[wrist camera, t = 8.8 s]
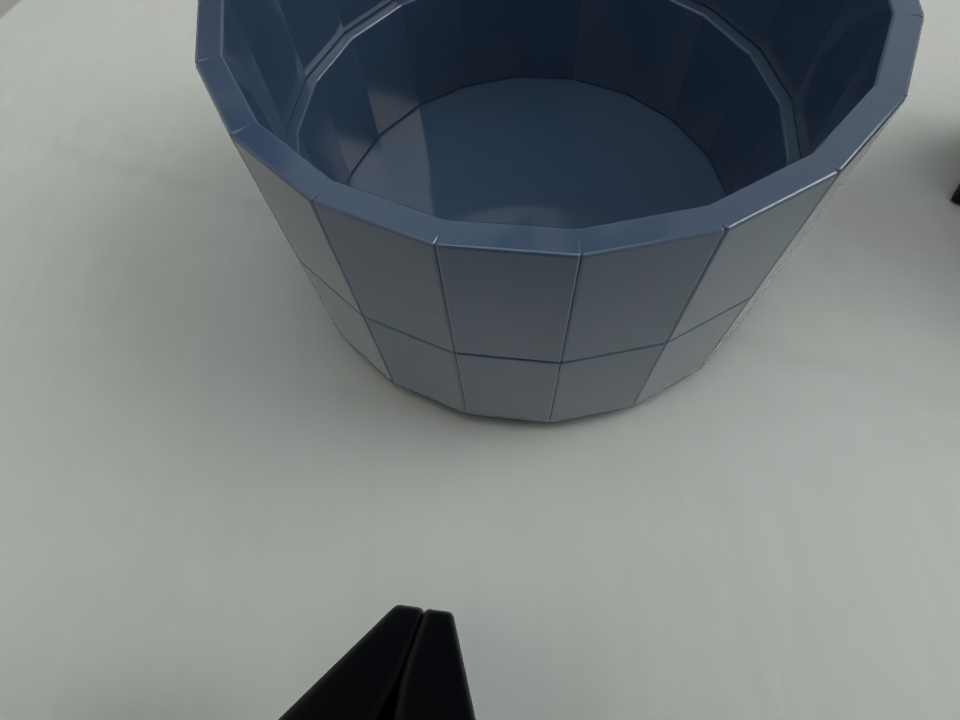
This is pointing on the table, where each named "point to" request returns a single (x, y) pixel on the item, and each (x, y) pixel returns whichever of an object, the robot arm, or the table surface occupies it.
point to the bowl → (549, 173)
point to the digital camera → (957, 195)
